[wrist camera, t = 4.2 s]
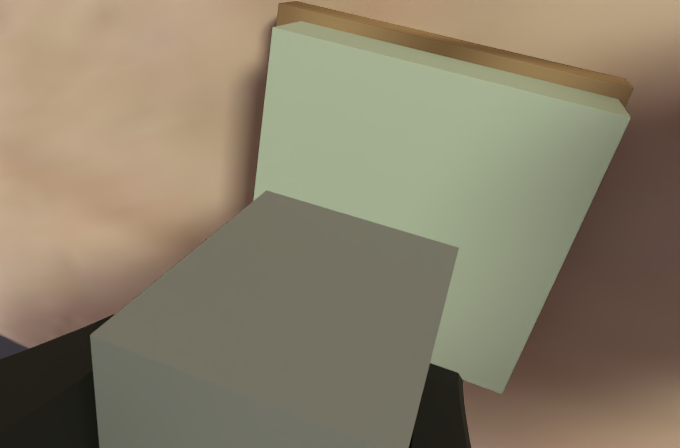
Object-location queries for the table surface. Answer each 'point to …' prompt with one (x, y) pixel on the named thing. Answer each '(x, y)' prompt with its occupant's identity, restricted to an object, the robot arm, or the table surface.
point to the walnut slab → (457, 49)
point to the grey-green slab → (442, 170)
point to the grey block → (277, 337)
